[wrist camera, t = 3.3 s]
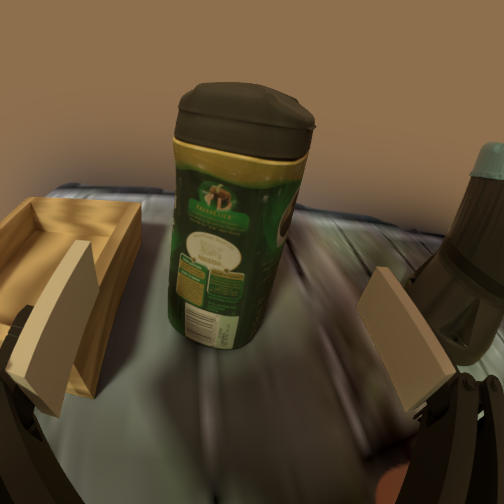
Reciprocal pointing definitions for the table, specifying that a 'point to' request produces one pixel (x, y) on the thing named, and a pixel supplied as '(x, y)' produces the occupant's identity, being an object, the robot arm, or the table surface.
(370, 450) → the table surface
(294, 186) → the coffee jar
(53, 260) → the pine crate
